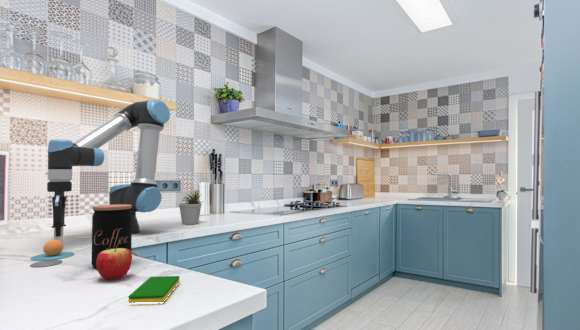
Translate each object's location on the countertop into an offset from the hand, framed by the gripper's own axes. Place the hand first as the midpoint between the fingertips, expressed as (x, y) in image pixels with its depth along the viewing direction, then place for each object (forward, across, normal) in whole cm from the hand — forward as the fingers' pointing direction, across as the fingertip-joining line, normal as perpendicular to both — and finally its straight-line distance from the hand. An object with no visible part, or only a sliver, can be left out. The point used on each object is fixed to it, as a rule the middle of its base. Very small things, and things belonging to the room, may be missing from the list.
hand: (58, 244), depth 122 cm
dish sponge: (+3, +66, +28) cm, 72 cm away
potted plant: (+2, -48, +57) cm, 74 cm away
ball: (-1, +11, 0) cm, 11 cm away
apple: (+2, +49, +19) cm, 53 cm away
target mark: (+2, +11, 0) cm, 11 cm away
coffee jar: (+2, +34, +18) cm, 38 cm away
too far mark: (+2, +22, 0) cm, 22 cm away
